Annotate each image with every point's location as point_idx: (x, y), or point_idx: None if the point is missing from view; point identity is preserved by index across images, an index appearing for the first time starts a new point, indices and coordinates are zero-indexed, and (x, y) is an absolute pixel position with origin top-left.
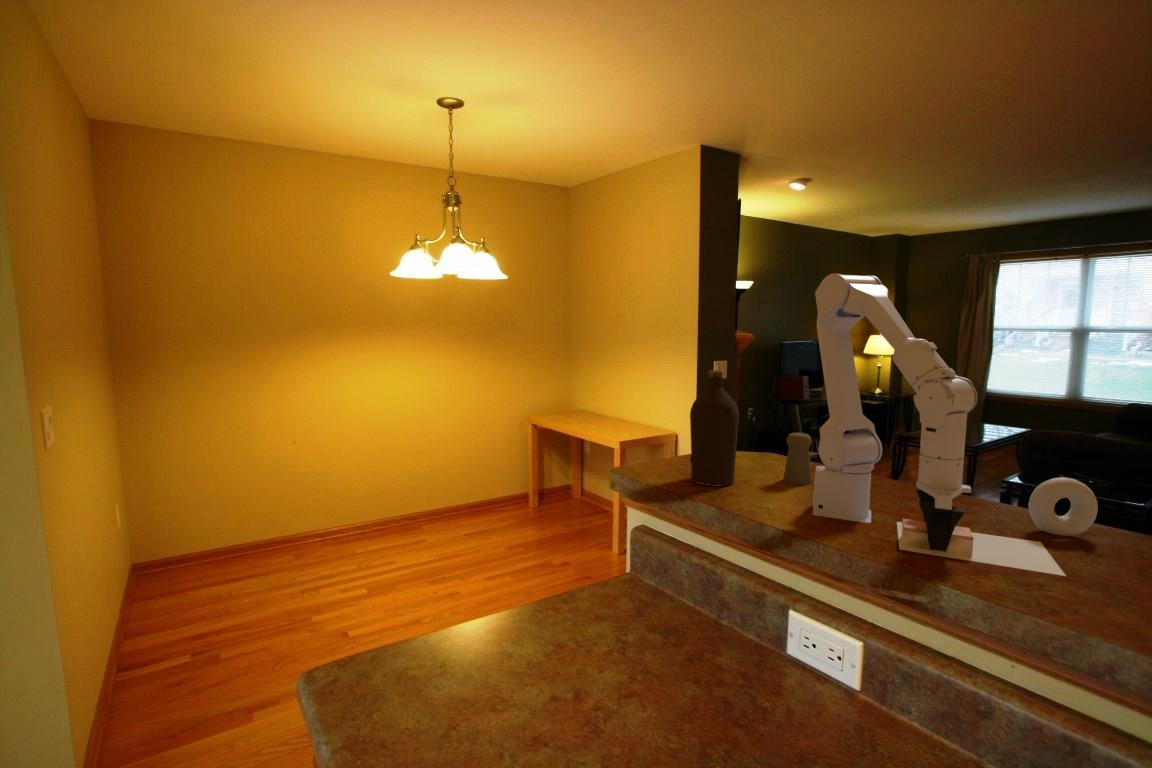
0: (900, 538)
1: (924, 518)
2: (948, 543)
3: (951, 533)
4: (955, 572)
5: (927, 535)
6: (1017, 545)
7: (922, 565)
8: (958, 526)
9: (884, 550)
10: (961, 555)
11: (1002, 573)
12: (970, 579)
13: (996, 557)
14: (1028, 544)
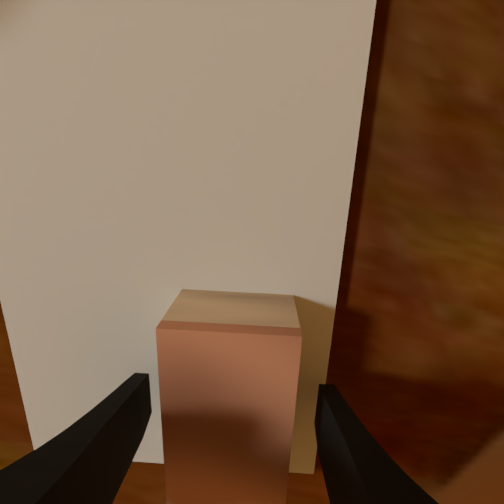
0: None
1: (125, 471)
2: (349, 407)
3: (378, 445)
4: (420, 350)
5: (324, 474)
6: (54, 95)
7: (392, 421)
8: (158, 367)
9: (305, 489)
10: None
11: (378, 215)
12: (468, 320)
13: (260, 214)
14: (4, 38)
